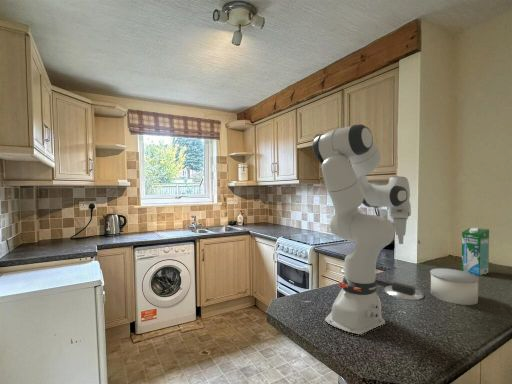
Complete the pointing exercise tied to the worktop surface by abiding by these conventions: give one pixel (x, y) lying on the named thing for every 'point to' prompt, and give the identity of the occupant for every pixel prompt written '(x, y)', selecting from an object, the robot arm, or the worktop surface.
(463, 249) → the milk carton
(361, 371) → the worktop surface
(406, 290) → the lid
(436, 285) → the cooker pot
